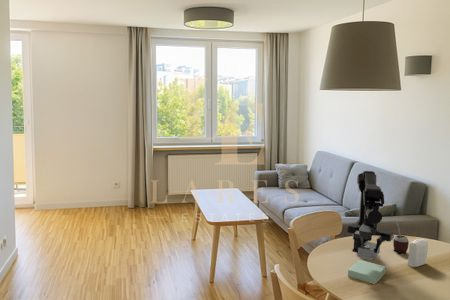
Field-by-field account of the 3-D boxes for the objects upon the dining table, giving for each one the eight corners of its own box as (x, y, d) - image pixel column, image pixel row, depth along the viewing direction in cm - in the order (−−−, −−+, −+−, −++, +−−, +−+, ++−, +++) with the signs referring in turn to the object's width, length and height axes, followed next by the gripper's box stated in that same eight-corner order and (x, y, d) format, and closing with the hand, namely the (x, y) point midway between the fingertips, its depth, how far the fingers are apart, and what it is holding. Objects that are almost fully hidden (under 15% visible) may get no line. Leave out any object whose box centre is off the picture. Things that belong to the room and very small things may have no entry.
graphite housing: (366, 249, 198) (366, 239, 197) (379, 253, 194) (380, 242, 194) (357, 256, 190) (358, 245, 190) (371, 259, 187) (371, 249, 186)
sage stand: (347, 276, 192) (348, 269, 191) (358, 265, 203) (359, 259, 202) (375, 284, 185) (375, 277, 184) (385, 272, 196) (385, 266, 195)
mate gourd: (406, 256, 216) (408, 226, 213) (389, 252, 220) (391, 223, 217) (408, 251, 222) (411, 222, 220) (392, 247, 226) (394, 219, 224)
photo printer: (419, 260, 210) (421, 236, 208) (427, 263, 207) (430, 238, 205) (406, 265, 205) (408, 239, 203) (414, 268, 201) (417, 242, 199)
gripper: (343, 216, 189) (341, 251, 191) (387, 225, 178) (385, 262, 180) (352, 210, 198) (350, 243, 200) (395, 219, 187) (392, 253, 189)
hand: (368, 250), depth 192 cm, fingers closed on graphite housing, 6 cm apart
